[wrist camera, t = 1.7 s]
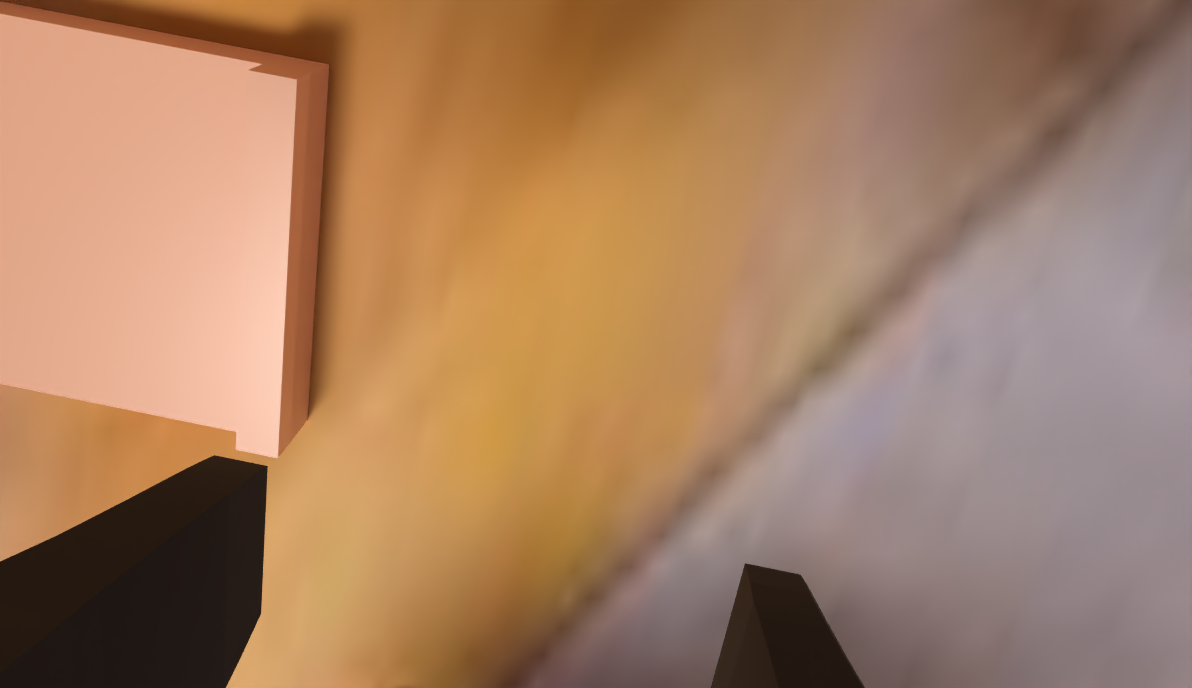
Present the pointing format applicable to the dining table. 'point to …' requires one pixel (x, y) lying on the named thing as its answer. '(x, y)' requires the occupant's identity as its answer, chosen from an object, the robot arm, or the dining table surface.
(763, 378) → the dining table surface
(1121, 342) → the dining table surface
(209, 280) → the stepped pink slab
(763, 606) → the robot arm
